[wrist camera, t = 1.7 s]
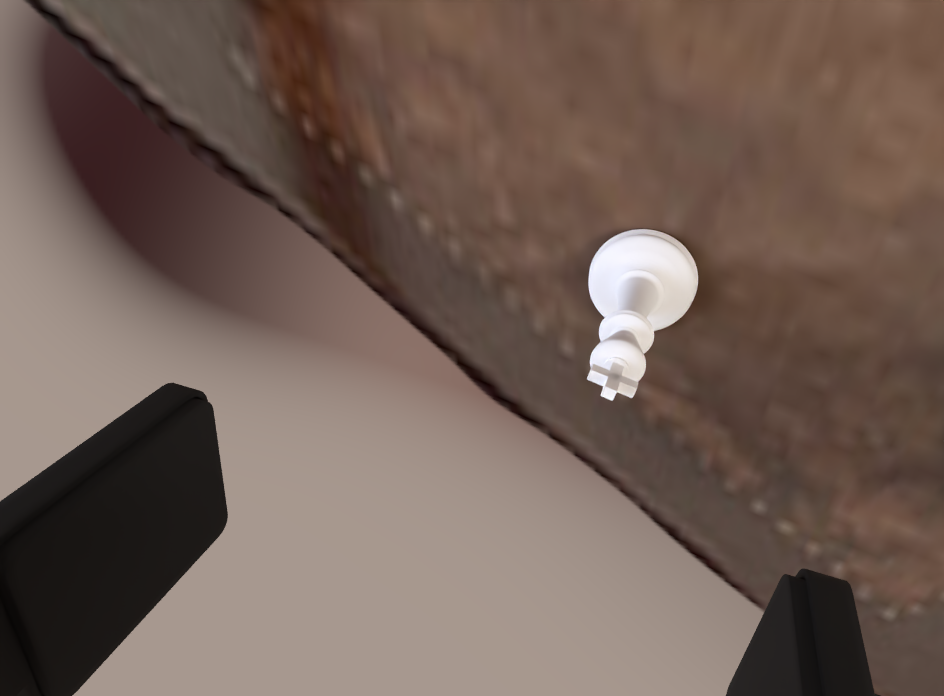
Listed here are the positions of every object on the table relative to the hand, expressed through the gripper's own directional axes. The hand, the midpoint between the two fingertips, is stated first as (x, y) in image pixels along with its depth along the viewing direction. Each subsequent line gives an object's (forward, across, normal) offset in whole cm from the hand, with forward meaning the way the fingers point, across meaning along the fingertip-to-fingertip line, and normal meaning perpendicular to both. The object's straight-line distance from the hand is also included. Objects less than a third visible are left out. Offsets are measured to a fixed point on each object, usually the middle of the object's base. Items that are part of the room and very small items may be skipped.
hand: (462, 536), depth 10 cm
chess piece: (+22, -2, +4) cm, 23 cm away
